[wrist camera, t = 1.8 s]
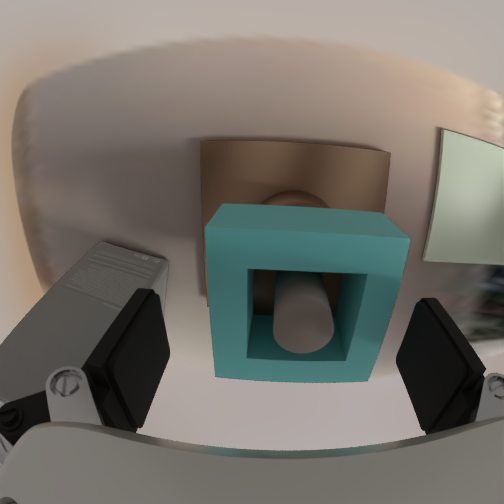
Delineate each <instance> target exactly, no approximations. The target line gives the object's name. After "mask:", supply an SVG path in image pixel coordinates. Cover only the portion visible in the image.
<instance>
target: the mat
mask: <svg viewBox="0 0 504 504" xmlns="http://www.w3.org/2000/svg"><path fill="white" fill-rule="evenodd" d="M422 260H423V261H430V262H451V263H472V264H493V265H504V149H503V148H500V147H498V146H495V145H492V144H489V143H486V142H483V141H480V140H477V139H474V138H471V137H468V136H465V135H461V134H458V133H455V132H451V131H447V130H443V129H441V143H440V156H439V166H438V174H437V182H436V190H435V196H434V203H433V209H432V214H431V220H430V225H429V230H428V235H427V240H426V244H425V249H424V253H423V257H422Z"/></svg>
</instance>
